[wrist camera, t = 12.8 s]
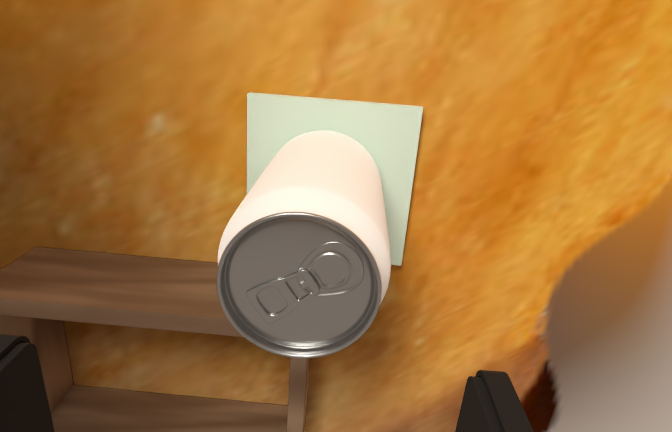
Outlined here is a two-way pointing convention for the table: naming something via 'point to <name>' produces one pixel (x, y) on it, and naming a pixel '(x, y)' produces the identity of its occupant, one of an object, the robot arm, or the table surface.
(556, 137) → the table surface
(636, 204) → the table surface
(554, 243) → the table surface
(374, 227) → the can
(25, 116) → the table surface
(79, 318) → the walnut box
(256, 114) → the sage mat
